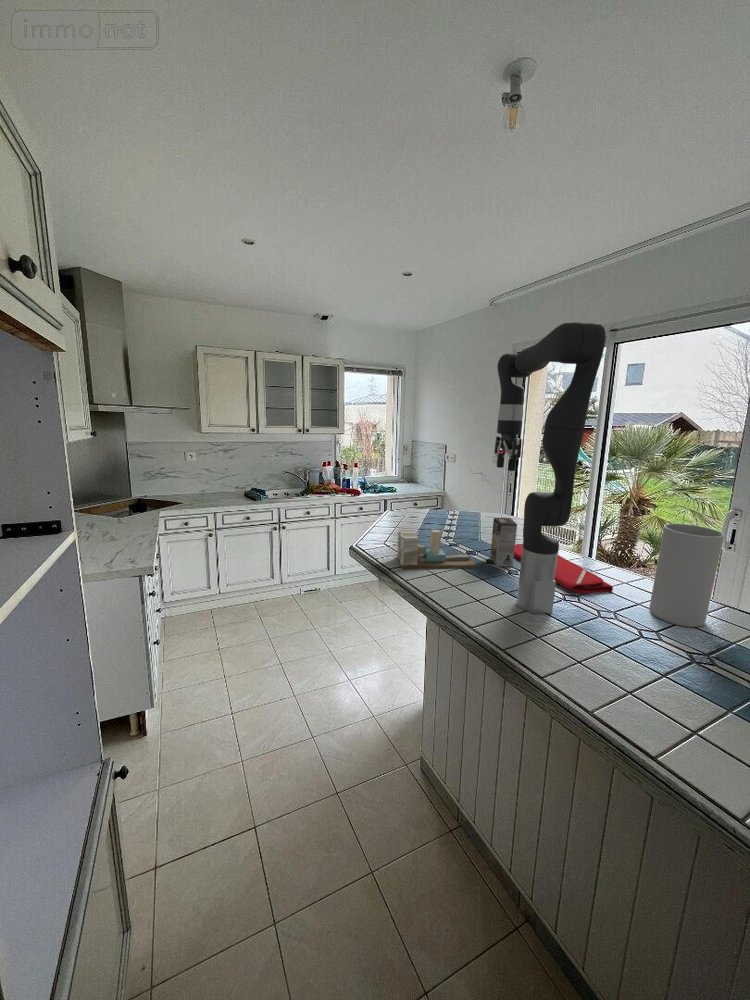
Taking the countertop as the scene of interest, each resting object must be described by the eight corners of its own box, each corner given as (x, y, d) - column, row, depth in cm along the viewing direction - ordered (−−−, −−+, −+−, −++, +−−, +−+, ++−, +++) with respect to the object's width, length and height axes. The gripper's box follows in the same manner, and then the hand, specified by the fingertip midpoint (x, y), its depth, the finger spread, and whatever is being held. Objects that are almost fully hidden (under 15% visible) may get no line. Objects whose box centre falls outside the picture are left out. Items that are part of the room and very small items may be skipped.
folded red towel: (538, 550, 166) (539, 541, 165) (614, 593, 126) (615, 582, 125) (503, 551, 163) (504, 543, 162) (569, 596, 123) (571, 584, 123)
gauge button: (420, 555, 144) (421, 546, 144) (404, 555, 144) (404, 547, 143) (418, 552, 148) (419, 544, 147) (402, 552, 147) (402, 544, 146)
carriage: (445, 561, 145) (447, 533, 142) (421, 562, 144) (422, 533, 141) (441, 556, 150) (442, 528, 148) (417, 556, 149) (419, 528, 147)
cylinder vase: (638, 609, 114) (653, 525, 109) (668, 603, 119) (683, 522, 114) (684, 631, 103) (703, 538, 98) (715, 624, 107) (735, 534, 102)
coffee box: (489, 557, 154) (493, 517, 151) (506, 557, 154) (510, 517, 151) (495, 566, 145) (500, 523, 142) (513, 566, 145) (518, 524, 142)
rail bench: (476, 567, 143) (479, 538, 141) (402, 569, 140) (403, 539, 138) (465, 555, 155) (467, 528, 153) (396, 557, 152) (397, 529, 149)
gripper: (532, 419, 123) (526, 472, 126) (511, 419, 137) (506, 466, 140) (508, 419, 122) (504, 472, 125) (490, 418, 136) (486, 466, 139)
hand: (505, 469), depth 133 cm, fingers open, 8 cm apart
